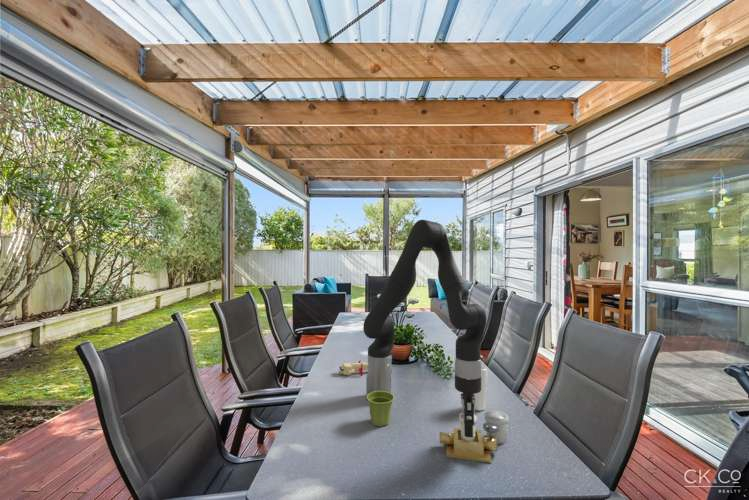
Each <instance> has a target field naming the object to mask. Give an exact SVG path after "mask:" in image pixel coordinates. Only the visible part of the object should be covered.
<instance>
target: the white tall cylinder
mask: <svg viewBox="0 0 749 500" xmlns="http://www.w3.org/2000/svg"><path fill="white" fill-rule="evenodd" d="M487 387H488V368H487V366H486V365H483V364H481V391H480V392H479V393H475V394H474V395H475V411H484V410H485V409H486V399H487Z"/></svg>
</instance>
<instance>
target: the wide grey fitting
mask: <svg viewBox="0 0 749 500" xmlns="http://www.w3.org/2000/svg"><path fill="white" fill-rule="evenodd" d="M483 415H484V421H486V422H492V423H495V424H497V425H498V426H499V432H497V433H493V438H496V439H497V445H500V444H501V445H502V444H505V443H507V442H508V424H509V416H508V414H506V413H505V412H502V411H500V410H488V411H487V410H486V411H485V412H484V414H483ZM486 422H485V423H486ZM485 433H486V434H485V437H488V438H489V432H487V431H485Z"/></svg>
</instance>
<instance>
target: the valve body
mask: <svg viewBox="0 0 749 500" xmlns="http://www.w3.org/2000/svg"><path fill="white" fill-rule="evenodd" d="M482 428H483V430H484V431H485V432H486V431H487V432H489V438H488V437H486V436H483V435H482V430H480V429H475V442H471V441H463V440H461V427H455V426H454V427H453V432H452V433H451V432H444V431H443V432H441V431H440V432H439V445H446V458H451V459H458V460H466V461H467V460H468V461H474V462H481V463H482V462H483V463H488V464H492V463H493V462H492V454H491V451H498V444H497V439H496V438H493V433H497V432H499V426H498V425H497V424H495V423H492V422H484V423H483V425H482Z"/></svg>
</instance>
